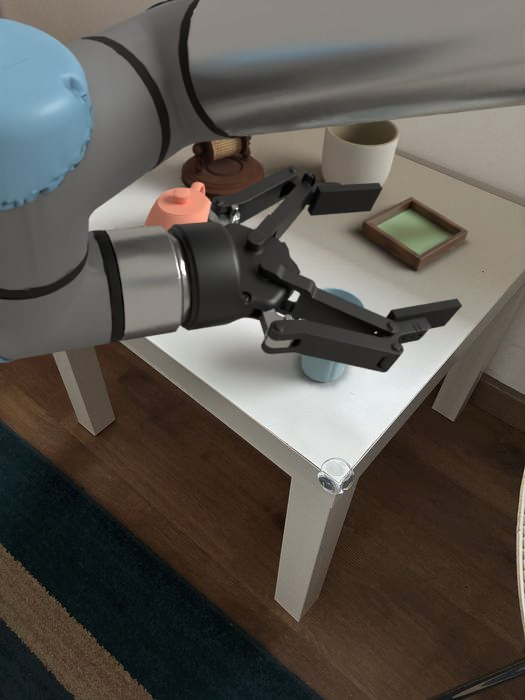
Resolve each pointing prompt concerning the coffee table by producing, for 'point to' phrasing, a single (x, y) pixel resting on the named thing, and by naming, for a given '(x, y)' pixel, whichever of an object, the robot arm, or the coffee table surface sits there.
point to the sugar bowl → (180, 207)
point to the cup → (320, 367)
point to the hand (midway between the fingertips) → (410, 250)
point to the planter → (359, 152)
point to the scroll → (222, 166)
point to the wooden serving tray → (414, 233)
